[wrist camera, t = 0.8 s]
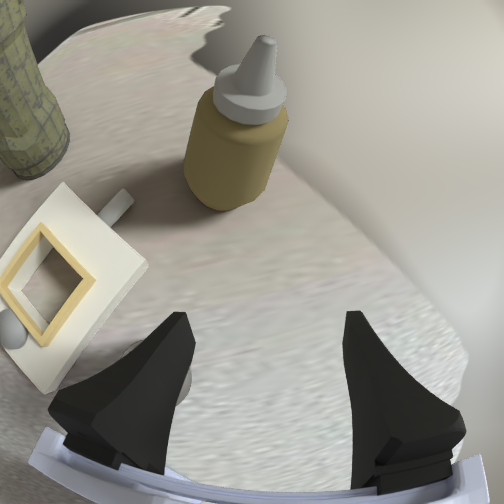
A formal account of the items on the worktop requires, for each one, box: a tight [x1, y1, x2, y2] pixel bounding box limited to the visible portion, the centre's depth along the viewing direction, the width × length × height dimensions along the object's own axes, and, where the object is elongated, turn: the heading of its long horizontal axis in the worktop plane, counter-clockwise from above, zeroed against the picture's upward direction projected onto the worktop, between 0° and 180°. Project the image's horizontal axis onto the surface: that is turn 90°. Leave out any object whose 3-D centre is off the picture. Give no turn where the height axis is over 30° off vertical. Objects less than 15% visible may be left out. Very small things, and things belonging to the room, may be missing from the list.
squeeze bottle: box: [184, 35, 289, 211], centre depth 21 cm, size 8×8×18 cm
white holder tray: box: [0, 182, 149, 395], centre depth 22 cm, size 20×12×4 cm, turn 144°
